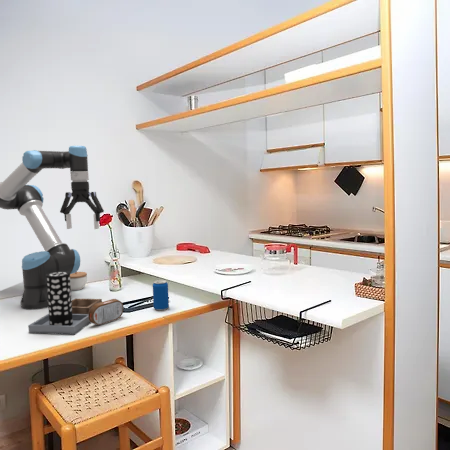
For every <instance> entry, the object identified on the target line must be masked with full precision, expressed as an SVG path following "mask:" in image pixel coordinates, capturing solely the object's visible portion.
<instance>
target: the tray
mask: <svg viewBox="0 0 450 450" xmlns="http://www.w3.org/2000/svg"><path fill="white" fill-rule="evenodd" d="M88 315H89V314H72V318H73V324H72V325H71V326H61V325H50V324H49V313H47V314H45V315H44V316H42V317H40V318H39V319H37V320H34V322H32V323H30V324H28V325H27V326H28V327H27V328H28V334H39V335H63V336H64V335H68V336H70V335H72V336H74V335H76V334H78V333H79V332H80V331H81V330H83V329H84V328H85V327H87V326H88V325H89V324H92V323H91V322H90V320H89V317H88Z"/></svg>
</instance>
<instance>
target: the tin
mask: <svg viewBox="0 0 450 450" xmlns="http://www.w3.org/2000/svg"><path fill="white" fill-rule="evenodd" d="M123 313H124V303H123V302H122V301H121V300H119V299H116V298H111V299H108V300H104V301H102V302H100V303H96V304H95V305H93V306H92V307H91V309H90V311H89V315H88V317H89V320H90V322H91V323H90V324H93V325H96V326H101V325H106V324H107V323H111V322H113V321H117V320H119V319H121V317H122V315H123Z"/></svg>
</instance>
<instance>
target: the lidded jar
mask: <svg viewBox="0 0 450 450" xmlns="http://www.w3.org/2000/svg"><path fill="white" fill-rule="evenodd" d="M87 274H88V273H87V272H86V271H77V272H75V273H73V274H70V285H71V291H79V290H80V289H81V290H83V289H84V287H85V286H86V284H87V281H88V275H87Z"/></svg>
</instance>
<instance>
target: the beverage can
mask: <svg viewBox="0 0 450 450" xmlns="http://www.w3.org/2000/svg"><path fill="white" fill-rule="evenodd" d="M152 299H153V300H152V302H153V309H154V310H155V311H158V312H161V311H166V310H167V309H169V307H170V304H169V301H170V300H169V299H170V298H169V283H168V281H167V280H165V279H158V280H157V279H156V280H153V284H152Z"/></svg>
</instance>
